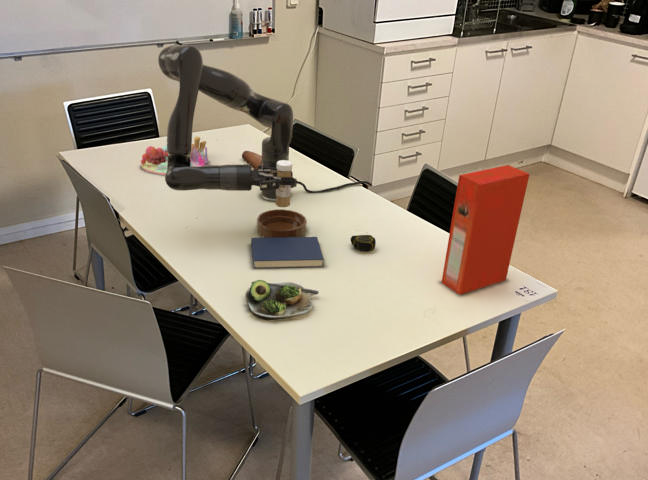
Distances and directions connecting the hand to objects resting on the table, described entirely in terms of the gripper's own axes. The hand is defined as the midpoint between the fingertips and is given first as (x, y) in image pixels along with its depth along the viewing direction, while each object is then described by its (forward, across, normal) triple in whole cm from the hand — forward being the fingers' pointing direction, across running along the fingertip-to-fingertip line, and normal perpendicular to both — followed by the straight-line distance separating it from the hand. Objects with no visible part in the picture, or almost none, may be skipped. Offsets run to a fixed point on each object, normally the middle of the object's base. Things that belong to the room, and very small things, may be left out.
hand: (292, 177), depth 197 cm
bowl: (-2, +4, +20) cm, 20 cm away
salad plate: (-7, -38, +20) cm, 43 cm away
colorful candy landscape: (-38, +64, +20) cm, 77 cm away
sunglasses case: (-6, +61, +20) cm, 64 cm away
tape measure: (+21, -8, +20) cm, 30 cm away
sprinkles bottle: (-3, 0, +9) cm, 9 cm away
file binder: (+49, -29, +19) cm, 60 cm away
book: (-2, -12, +20) cm, 23 cm away
